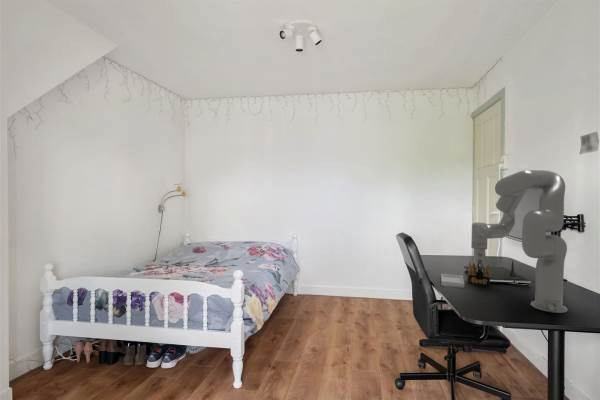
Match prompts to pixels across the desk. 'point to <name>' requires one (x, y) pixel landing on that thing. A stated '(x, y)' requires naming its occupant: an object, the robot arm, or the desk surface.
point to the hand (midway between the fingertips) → (478, 277)
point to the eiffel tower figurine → (513, 275)
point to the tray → (452, 280)
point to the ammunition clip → (477, 282)
